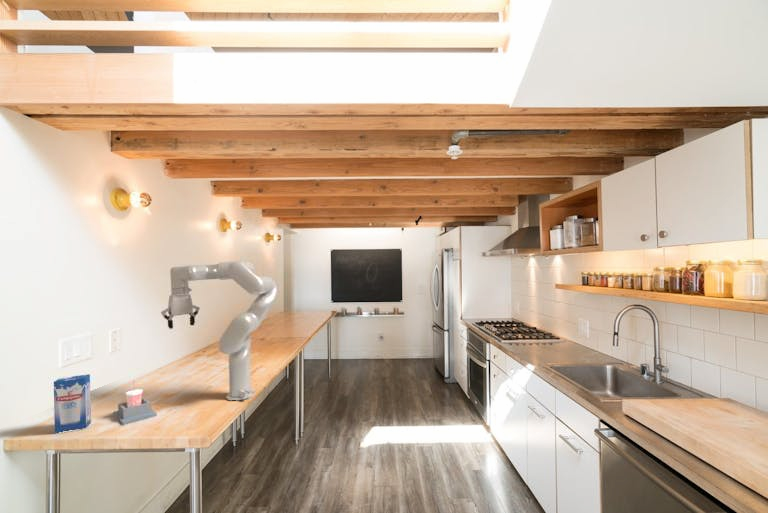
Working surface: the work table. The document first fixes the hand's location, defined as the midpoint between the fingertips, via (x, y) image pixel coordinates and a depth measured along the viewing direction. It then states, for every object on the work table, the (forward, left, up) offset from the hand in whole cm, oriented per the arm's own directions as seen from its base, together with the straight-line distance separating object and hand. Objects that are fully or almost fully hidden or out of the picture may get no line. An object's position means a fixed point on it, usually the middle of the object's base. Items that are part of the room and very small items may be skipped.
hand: (181, 326), depth 183 cm
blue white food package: (-3, +42, -34) cm, 54 cm away
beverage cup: (-7, +22, -33) cm, 40 cm away
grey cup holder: (-7, +22, -34) cm, 41 cm away
